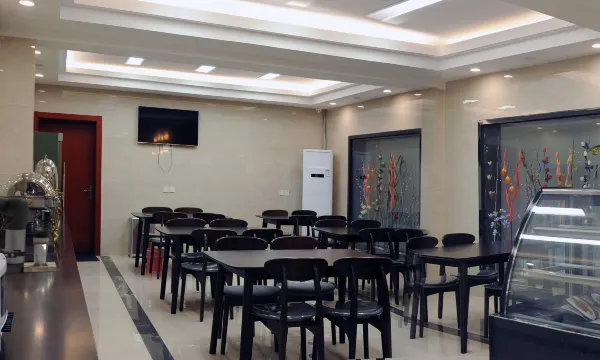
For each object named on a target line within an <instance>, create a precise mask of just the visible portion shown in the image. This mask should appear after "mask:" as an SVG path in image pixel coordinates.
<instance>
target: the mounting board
mask: <svg viewBox="0 0 600 360" xmlns="http://www.w3.org/2000/svg"><path fill="white" fill-rule="evenodd" d="M56 271H57V264H56V262H55V261H50V262H49V261H48V262H47V261H46V266H38V267H34V262H24V263H23V273H41V272H56Z"/></svg>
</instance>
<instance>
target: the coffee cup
mask: <svg viewBox="0 0 600 360" xmlns="http://www.w3.org/2000/svg"><path fill="white" fill-rule="evenodd" d="M32 238H33V241H32V244H33V245H32V246H33V247H32V248H34V247H35V245H36V244H46V247H47V252H48V251H49V249H48V248H49V244H50V243H49V240H50V239H49V238H50V232H49V231H38V232H37V231H36V232H33V235H32Z"/></svg>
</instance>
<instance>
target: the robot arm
mask: <svg viewBox="0 0 600 360" xmlns="http://www.w3.org/2000/svg"><path fill="white" fill-rule="evenodd" d="M29 210H30V209H29V202H28V200H27V199H24V198H15V197H14V198H13V197H11V198H9V197H5V196H0V213H2V214H4V215H6V216H8V217H13V219H12V221H10V222H9V223H6V225H5V240H4V241H5V245H4V248H0V253H3V254H4V255H5V257H6V258H7V263H6V264H11V265H12V264H13V265H14V264H15V265H17V264H24V263H25V257H26V256H27V251H26V231H27V230H26V228H27V225H28V219H29Z"/></svg>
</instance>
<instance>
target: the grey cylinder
mask: <svg viewBox="0 0 600 360" xmlns="http://www.w3.org/2000/svg"><path fill="white" fill-rule="evenodd" d="M47 257H48V251H47V247H46V244H36V245H35V247H33V263H34V267H38V266H46V262H47V259H48V258H47Z"/></svg>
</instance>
